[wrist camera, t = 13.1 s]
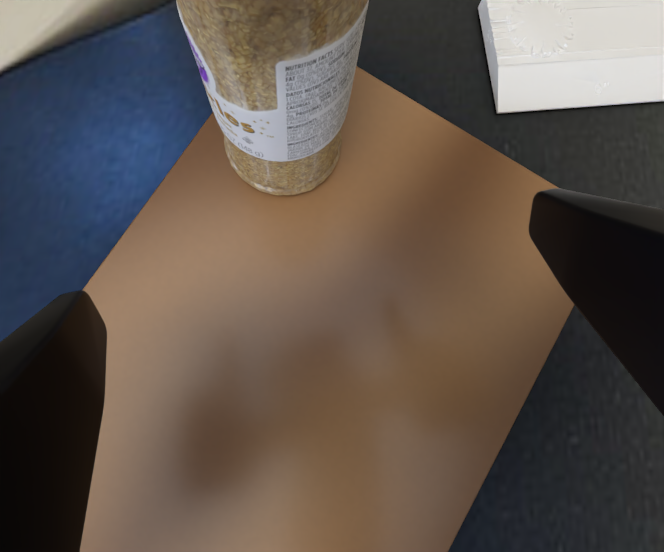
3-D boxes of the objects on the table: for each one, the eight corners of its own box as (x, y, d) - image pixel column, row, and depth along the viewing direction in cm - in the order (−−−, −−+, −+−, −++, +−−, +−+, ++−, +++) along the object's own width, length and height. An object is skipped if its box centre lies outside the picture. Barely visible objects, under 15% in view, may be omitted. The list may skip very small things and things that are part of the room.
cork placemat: (609, 225, 19) (617, 222, 19) (329, 769, 15) (330, 782, 15) (280, 27, 20) (280, 19, 19) (-70, 507, 16) (-82, 511, 15)
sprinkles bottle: (203, 129, 18) (-69, -484, 5) (300, 71, 19) (295, -609, 5) (269, 223, 18) (170, -167, 4) (365, 160, 18) (536, -346, 5)
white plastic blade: (819, 91, 21) (848, 77, 20) (494, 114, 19) (505, 101, 18) (791, -11, 21) (817, -30, 20) (476, 5, 20) (486, -14, 19)
